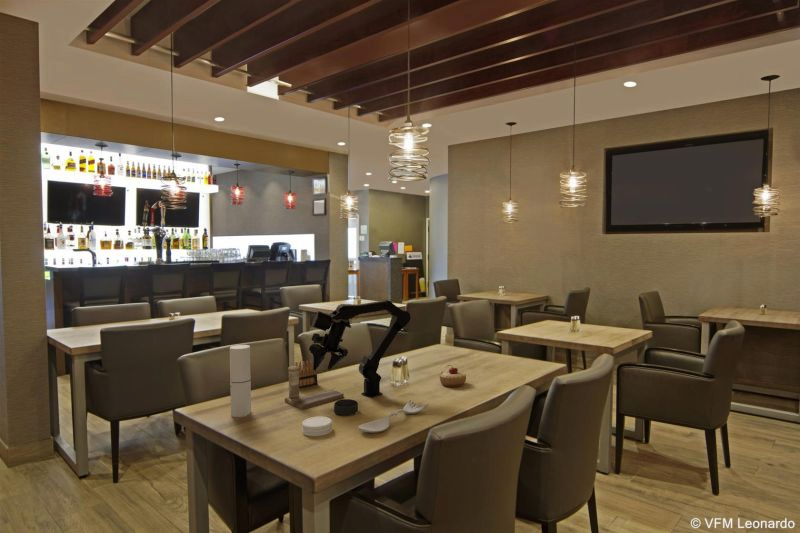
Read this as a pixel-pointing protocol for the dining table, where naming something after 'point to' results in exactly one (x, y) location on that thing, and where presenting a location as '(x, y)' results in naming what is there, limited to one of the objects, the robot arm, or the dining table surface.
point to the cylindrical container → (240, 380)
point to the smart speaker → (346, 407)
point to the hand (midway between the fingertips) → (321, 369)
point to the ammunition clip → (307, 375)
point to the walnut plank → (317, 399)
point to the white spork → (384, 422)
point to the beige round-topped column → (293, 384)
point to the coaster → (317, 426)
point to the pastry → (452, 378)
